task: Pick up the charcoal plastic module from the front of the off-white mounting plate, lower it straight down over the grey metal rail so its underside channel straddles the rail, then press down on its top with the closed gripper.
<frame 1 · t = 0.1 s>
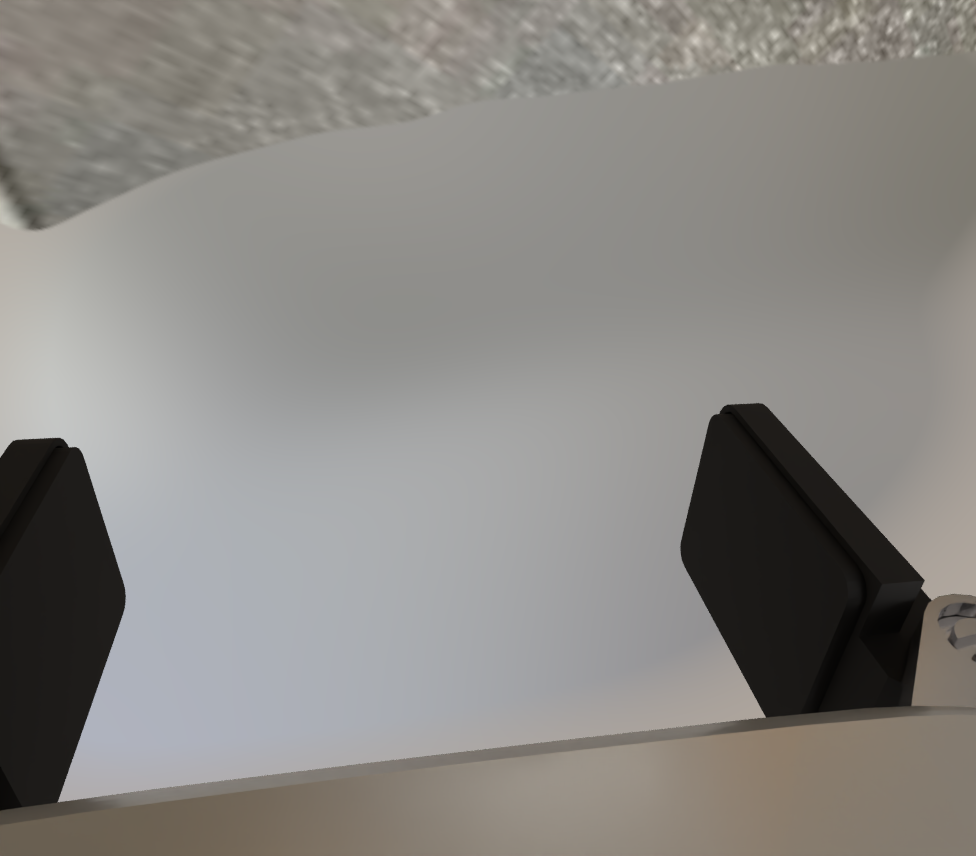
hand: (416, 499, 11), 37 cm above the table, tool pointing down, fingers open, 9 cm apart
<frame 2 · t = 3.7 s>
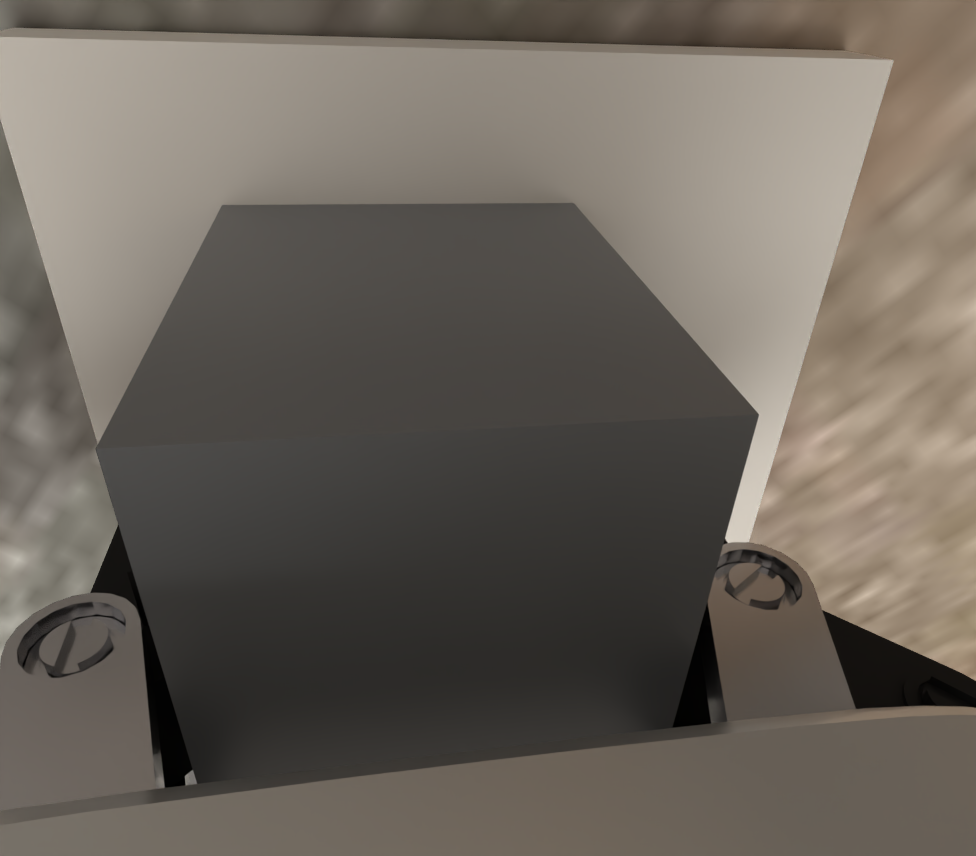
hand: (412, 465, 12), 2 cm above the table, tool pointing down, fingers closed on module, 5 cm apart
mounting plate: (455, 591, 16), on the table
module: (409, 437, 13), point 1 cm above the table, touching gripper, mounting plate
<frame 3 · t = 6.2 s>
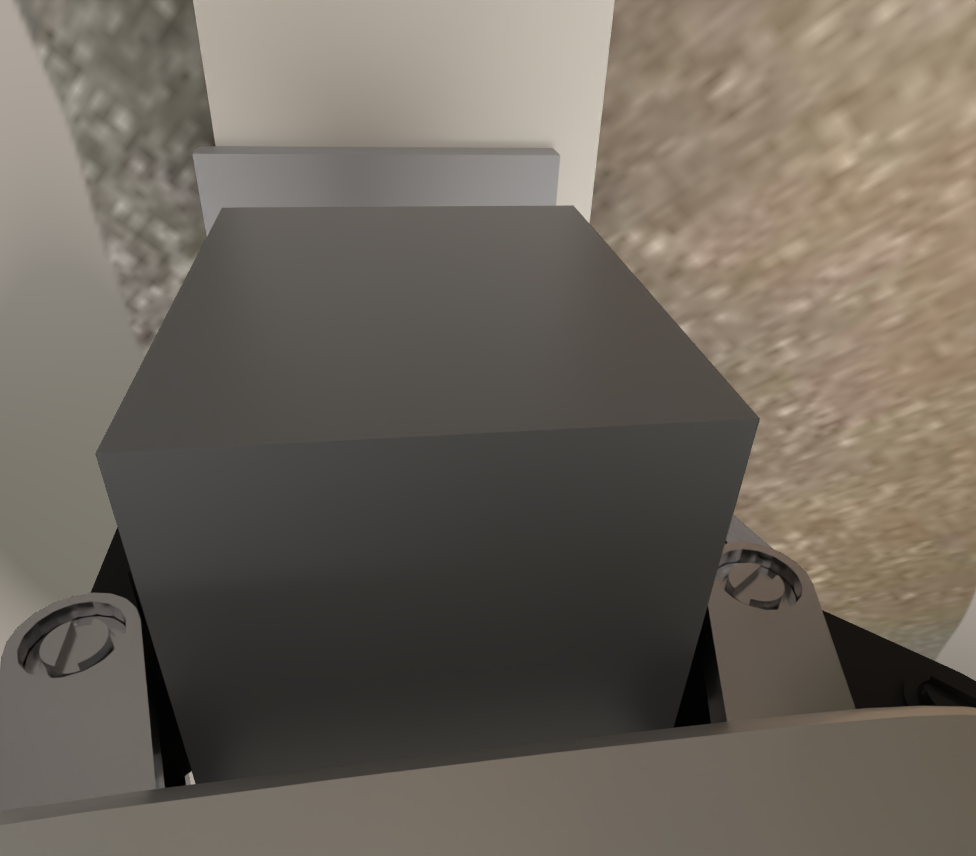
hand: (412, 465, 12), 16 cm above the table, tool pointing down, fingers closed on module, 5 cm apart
mounting plate: (409, 28, 22), on the table
electrical switch: (616, 461, 33), on the table
module: (409, 439, 13), point 15 cm above the table, touching gripper
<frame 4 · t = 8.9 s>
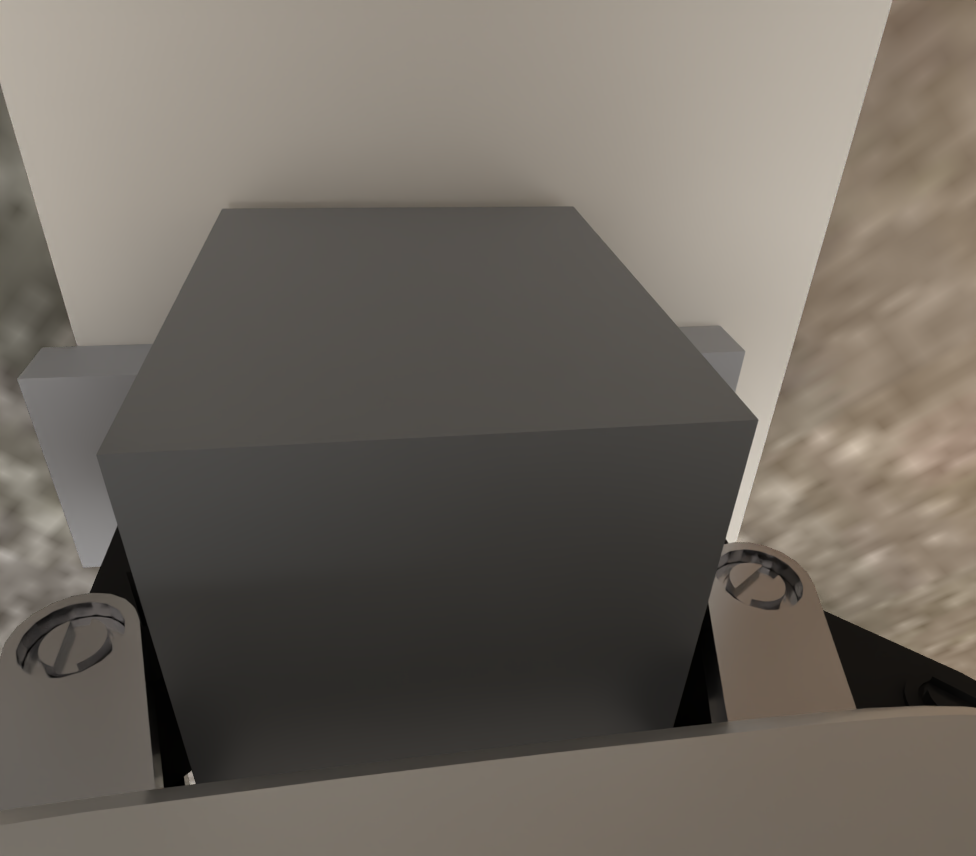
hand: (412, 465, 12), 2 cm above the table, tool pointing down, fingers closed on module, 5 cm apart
mounting plate: (459, 113, 11), on the table
module: (409, 440, 13), point 2 cm above the table, touching gripper
when the fingers open (2 cm above the table, at t = 8.9 s): module stays where it is, resting on mounting plate.
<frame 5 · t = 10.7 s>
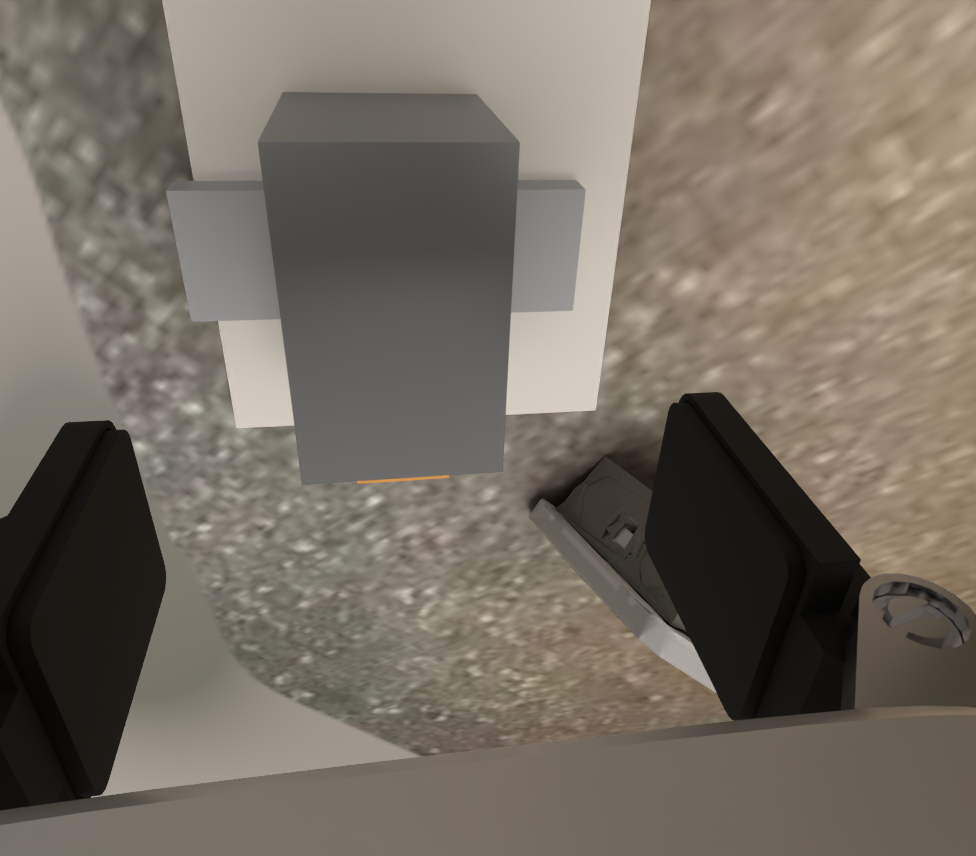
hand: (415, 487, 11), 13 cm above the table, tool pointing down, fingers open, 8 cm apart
mounting plate: (414, 46, 20), on the table
electrical switch: (639, 512, 30), on the table
module: (388, 243, 21), point 1 cm above the table, touching mounting plate
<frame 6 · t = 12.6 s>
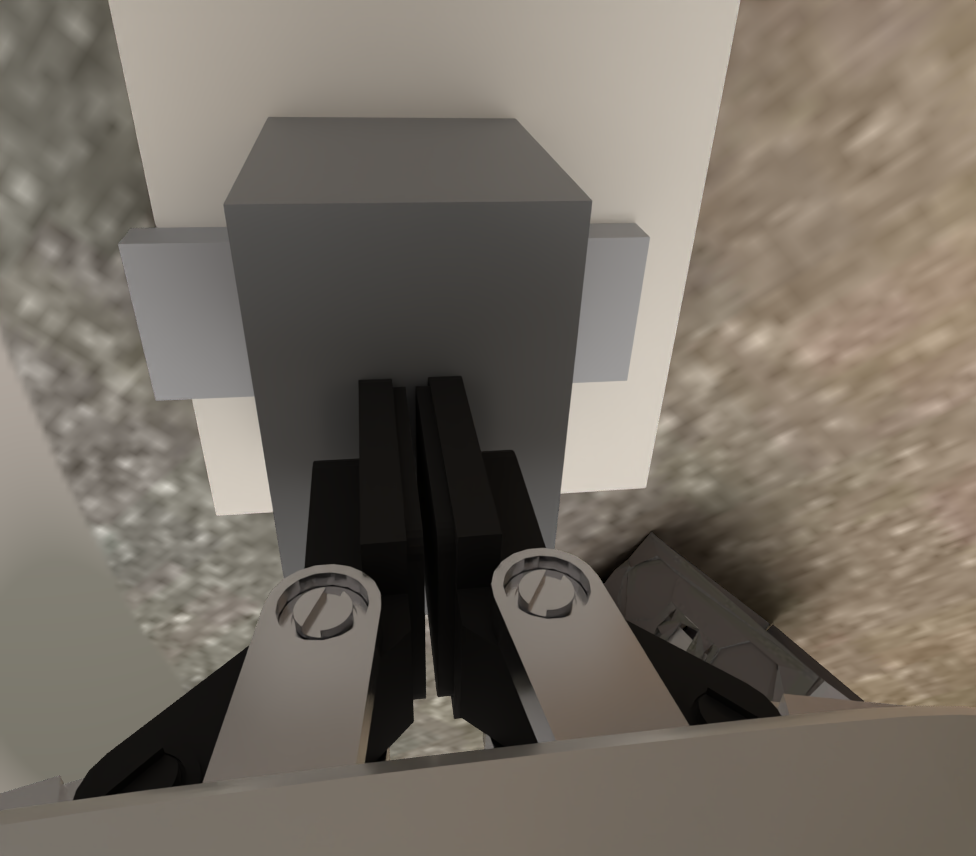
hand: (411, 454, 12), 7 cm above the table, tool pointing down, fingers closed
mounting plate: (436, 57, 16), on the table
electrical switch: (686, 590, 26), on the table
module: (400, 301, 17), point 1 cm above the table, touching gripper, mounting plate
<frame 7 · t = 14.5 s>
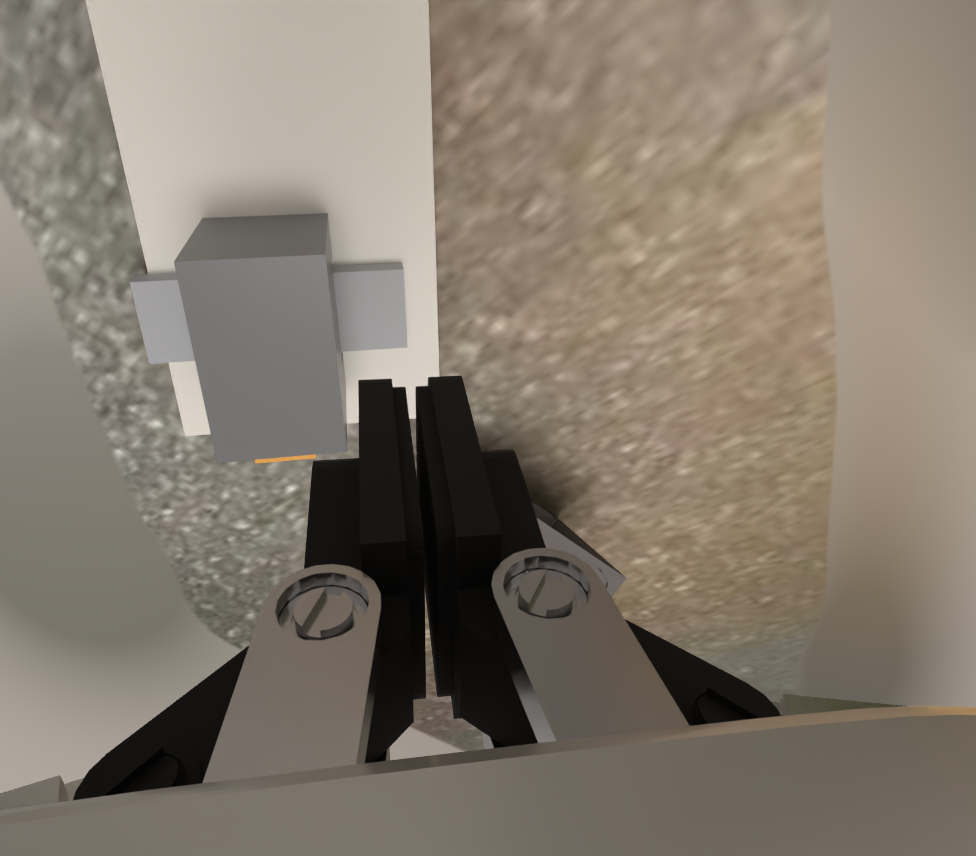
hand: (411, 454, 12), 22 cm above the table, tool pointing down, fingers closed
mounting plate: (288, 184, 31), on the table
electrical switch: (493, 493, 41), on the table
module: (279, 308, 32), point 1 cm above the table, touching mounting plate
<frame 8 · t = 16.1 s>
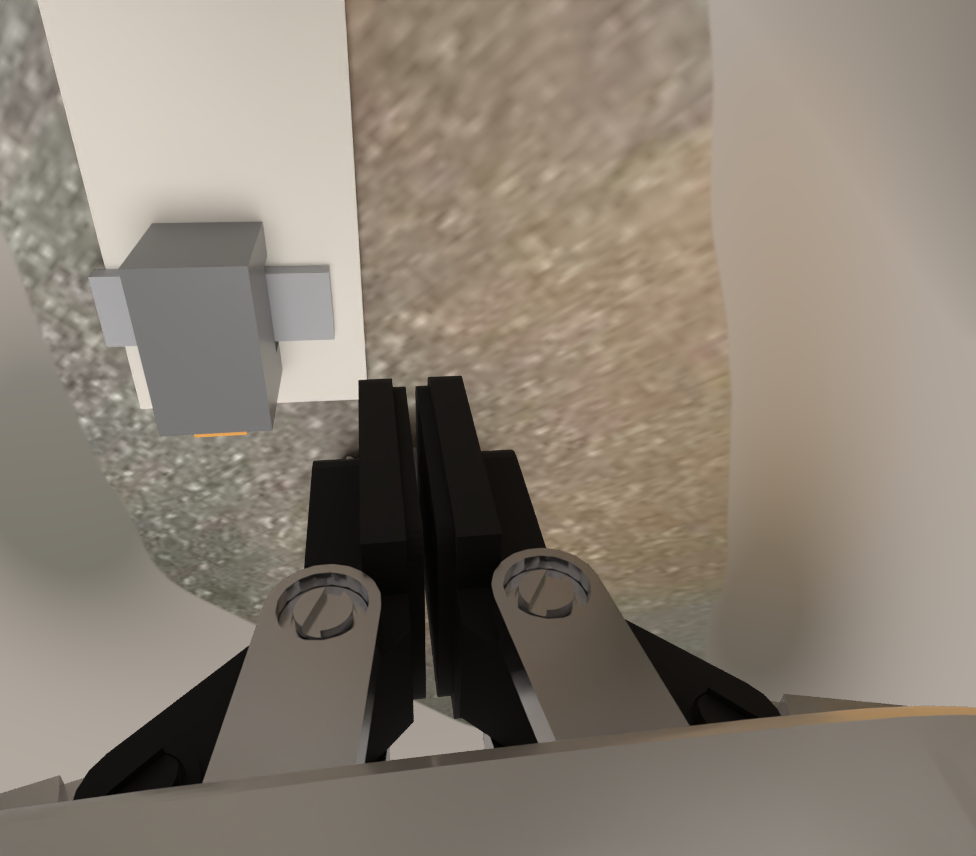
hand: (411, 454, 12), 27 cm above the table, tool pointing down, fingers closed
mounting plate: (229, 194, 35), on the table
module: (221, 301, 37), point 1 cm above the table, touching mounting plate
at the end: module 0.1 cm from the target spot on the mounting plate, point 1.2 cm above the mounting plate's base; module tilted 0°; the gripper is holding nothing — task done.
